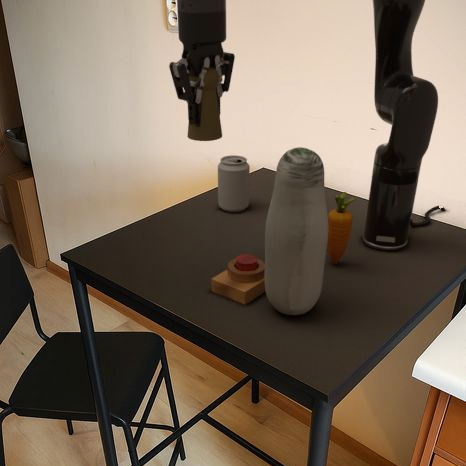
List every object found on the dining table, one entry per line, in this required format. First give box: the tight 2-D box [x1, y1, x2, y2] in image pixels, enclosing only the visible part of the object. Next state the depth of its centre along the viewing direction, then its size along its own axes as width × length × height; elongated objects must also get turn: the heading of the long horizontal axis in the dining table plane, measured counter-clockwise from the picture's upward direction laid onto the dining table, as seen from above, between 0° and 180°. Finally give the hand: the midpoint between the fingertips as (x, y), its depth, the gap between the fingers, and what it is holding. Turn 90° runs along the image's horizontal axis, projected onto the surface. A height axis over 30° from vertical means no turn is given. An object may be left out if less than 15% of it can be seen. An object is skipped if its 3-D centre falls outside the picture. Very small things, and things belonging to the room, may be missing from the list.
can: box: [217, 154, 251, 213], centre depth 141 cm, size 8×8×12 cm
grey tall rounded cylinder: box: [264, 147, 329, 316], centre depth 97 cm, size 10×10×28 cm
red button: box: [236, 253, 258, 271], centre depth 109 cm, size 4×4×2 cm
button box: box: [210, 258, 266, 305], centre depth 111 cm, size 8×11×4 cm
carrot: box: [327, 191, 356, 266], centre depth 115 cm, size 5×5×15 cm
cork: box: [186, 67, 223, 142], centre depth 99 cm, size 6×6×11 cm
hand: (204, 122), depth 100 cm, fingers closed on cork, 4 cm apart
